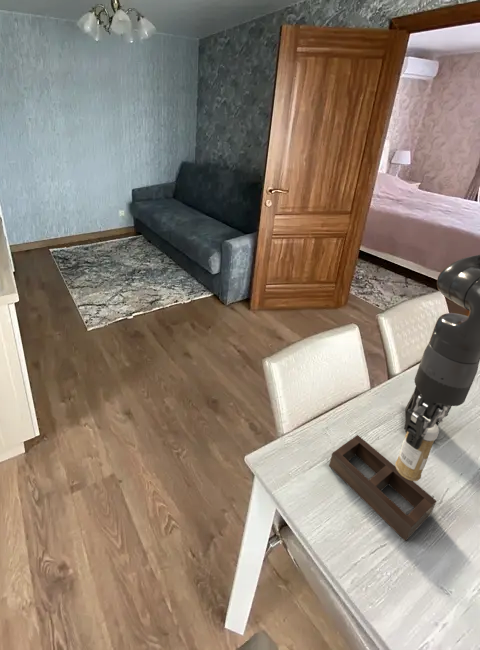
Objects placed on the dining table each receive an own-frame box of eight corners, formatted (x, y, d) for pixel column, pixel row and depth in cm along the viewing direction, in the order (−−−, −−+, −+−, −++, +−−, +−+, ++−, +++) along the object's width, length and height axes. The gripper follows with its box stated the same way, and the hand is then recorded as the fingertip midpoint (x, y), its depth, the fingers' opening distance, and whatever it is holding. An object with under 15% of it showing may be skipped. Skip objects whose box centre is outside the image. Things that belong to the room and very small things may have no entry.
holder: (353, 447, 87) (357, 434, 85) (430, 514, 73) (436, 500, 71) (328, 465, 83) (332, 452, 81) (405, 541, 68) (411, 527, 67)
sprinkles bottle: (425, 481, 69) (445, 433, 64) (403, 482, 69) (422, 434, 64) (410, 459, 73) (428, 413, 68) (389, 460, 73) (405, 413, 68)
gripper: (450, 401, 55) (420, 473, 61) (489, 369, 61) (459, 437, 68) (401, 371, 61) (379, 440, 67) (442, 345, 67) (418, 410, 74)
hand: (419, 438), depth 67 cm, fingers closed on sprinkles bottle, 4 cm apart
